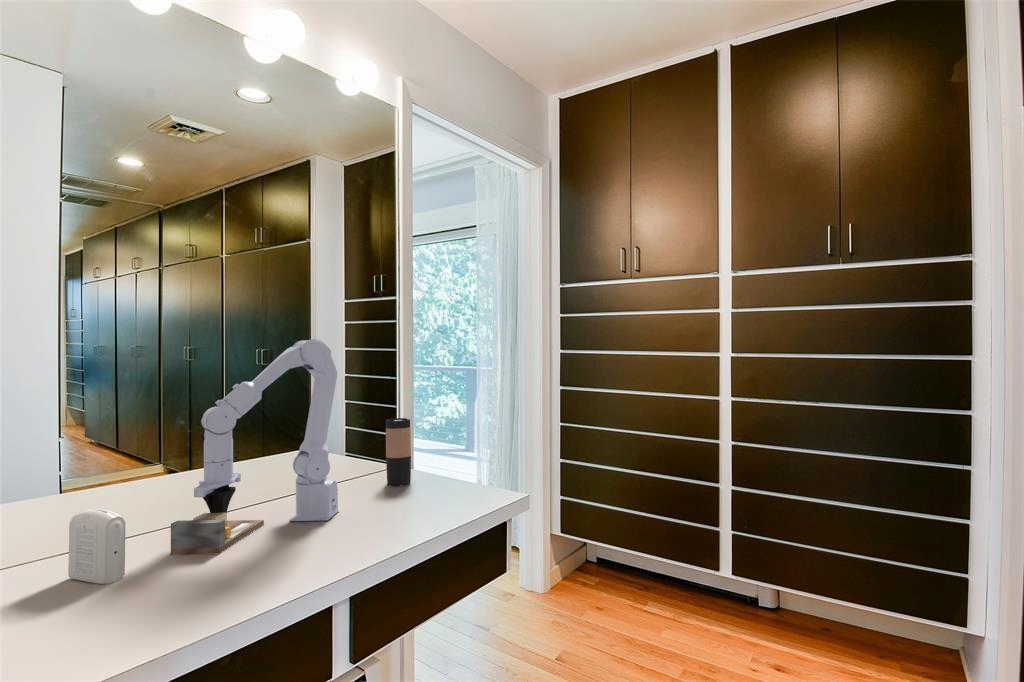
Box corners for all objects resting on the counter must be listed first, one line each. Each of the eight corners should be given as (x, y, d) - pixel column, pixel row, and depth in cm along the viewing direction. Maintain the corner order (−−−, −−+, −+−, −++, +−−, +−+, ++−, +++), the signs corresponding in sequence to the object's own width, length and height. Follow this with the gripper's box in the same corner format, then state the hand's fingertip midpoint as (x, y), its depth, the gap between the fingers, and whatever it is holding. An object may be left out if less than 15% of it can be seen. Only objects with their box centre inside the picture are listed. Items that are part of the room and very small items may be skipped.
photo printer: (129, 576, 94) (129, 508, 94) (104, 586, 90) (105, 515, 90) (89, 570, 97) (90, 504, 97) (63, 580, 93) (64, 511, 93)
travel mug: (382, 486, 157) (381, 420, 158) (392, 480, 165) (391, 418, 166) (406, 486, 156) (405, 420, 157) (414, 480, 164) (414, 417, 164)
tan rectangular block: (238, 530, 114) (238, 512, 114) (228, 536, 110) (228, 518, 110) (204, 531, 114) (204, 513, 114) (192, 537, 110) (192, 518, 110)
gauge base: (263, 525, 122) (263, 498, 122) (219, 553, 104) (219, 522, 104) (222, 525, 122) (222, 499, 122) (170, 554, 104) (170, 523, 104)
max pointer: (230, 535, 110) (230, 526, 110) (226, 538, 108) (226, 528, 108) (219, 536, 110) (219, 526, 110) (215, 538, 108) (215, 529, 108)
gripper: (219, 454, 123) (220, 512, 122) (179, 467, 108) (179, 532, 108) (249, 454, 123) (249, 511, 122) (212, 466, 108) (212, 532, 108)
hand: (218, 521), depth 115 cm, fingers closed
